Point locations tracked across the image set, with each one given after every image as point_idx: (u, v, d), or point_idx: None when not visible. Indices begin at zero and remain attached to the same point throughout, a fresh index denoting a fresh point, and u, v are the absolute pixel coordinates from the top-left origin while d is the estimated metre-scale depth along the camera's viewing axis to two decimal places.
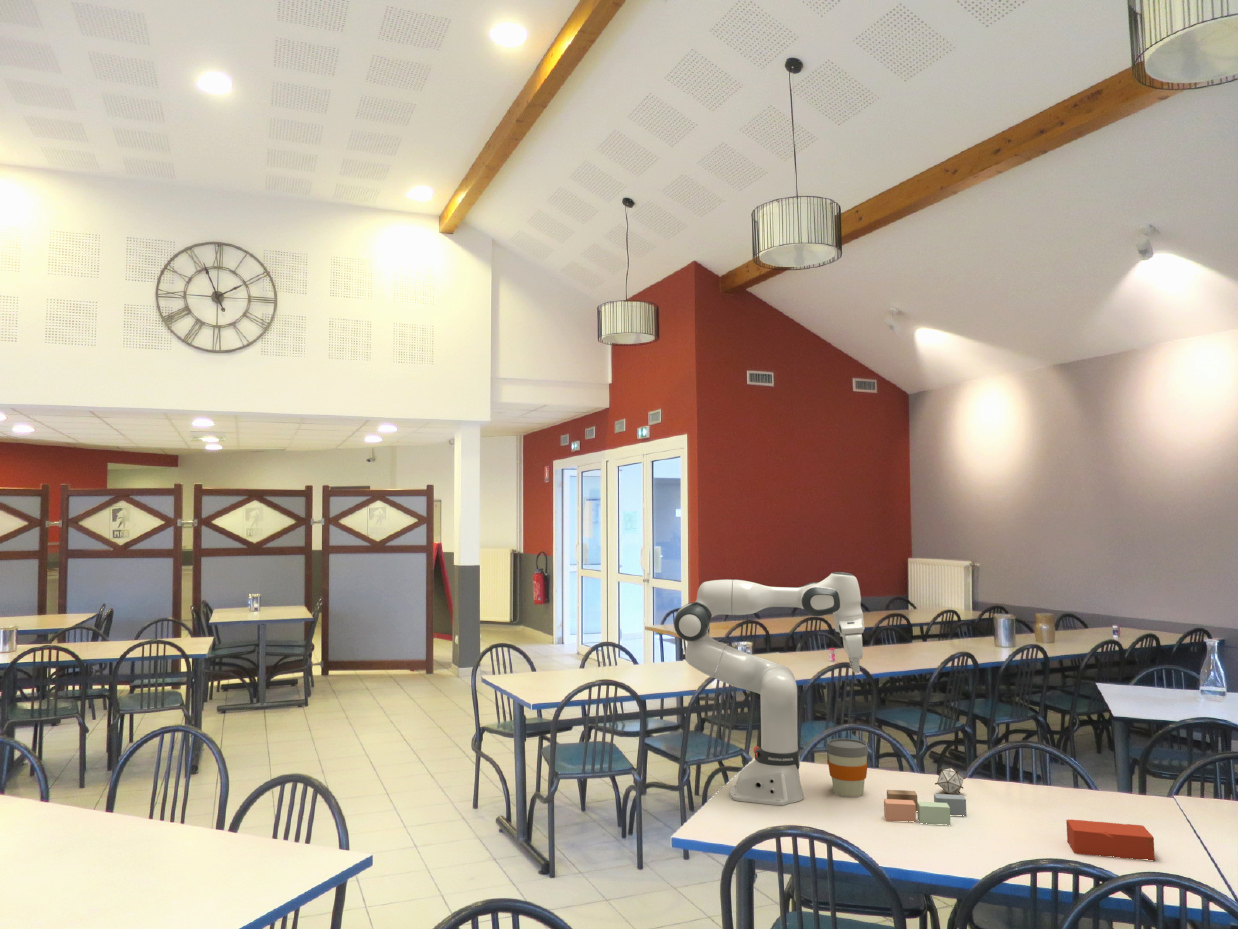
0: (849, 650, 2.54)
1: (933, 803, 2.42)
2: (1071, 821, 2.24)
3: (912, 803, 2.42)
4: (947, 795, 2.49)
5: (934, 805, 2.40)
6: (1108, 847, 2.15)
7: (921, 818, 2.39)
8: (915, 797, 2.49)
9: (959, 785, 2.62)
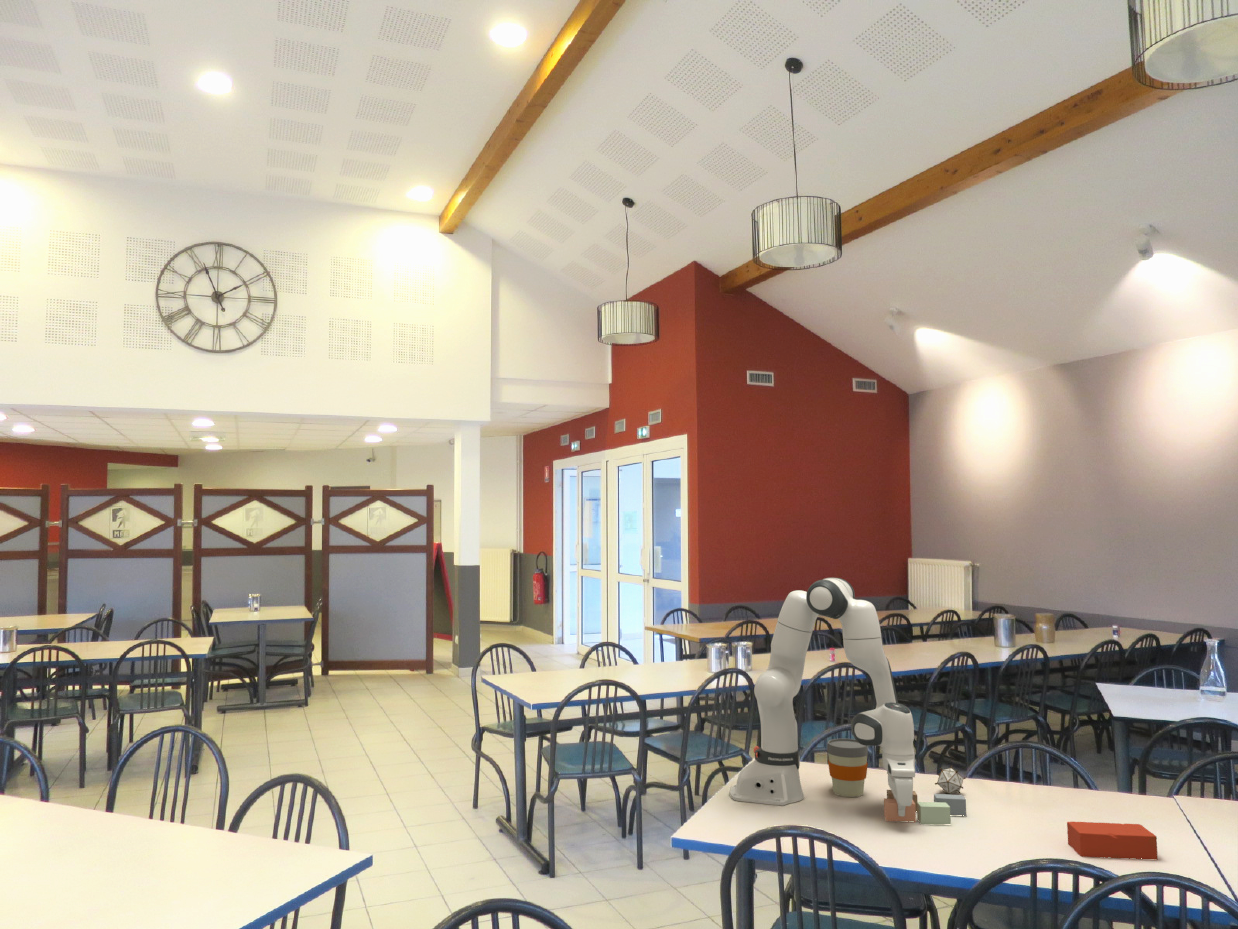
0: (898, 795, 2.34)
1: (933, 803, 2.42)
2: (1073, 823, 2.23)
3: (912, 802, 2.42)
4: (946, 795, 2.49)
5: (934, 805, 2.40)
6: (1113, 848, 2.14)
7: (922, 818, 2.39)
8: (915, 797, 2.49)
9: (959, 785, 2.62)
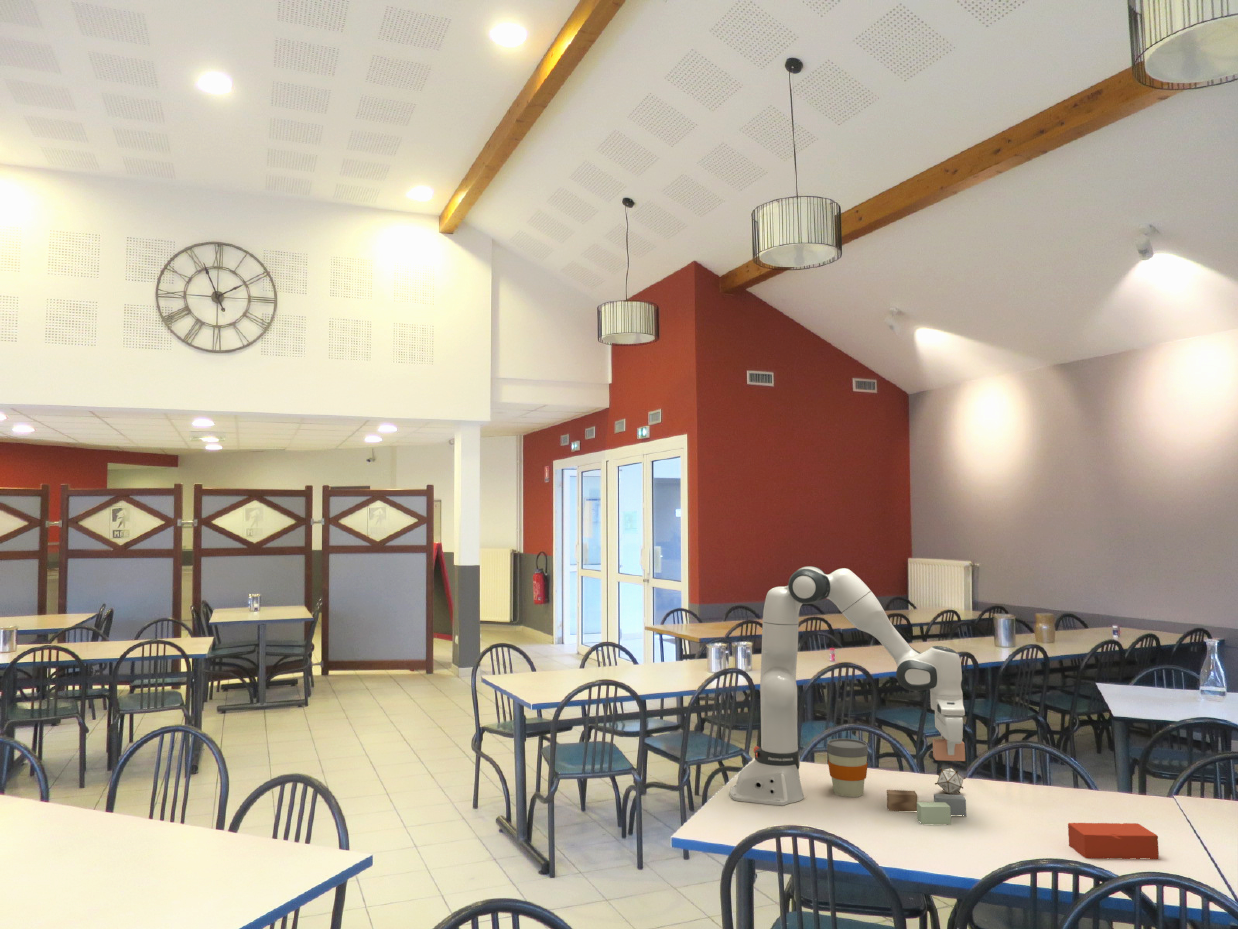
0: (948, 733, 2.40)
1: (933, 803, 2.42)
2: (1074, 825, 2.22)
3: (961, 742, 2.47)
4: (946, 795, 2.49)
5: (935, 805, 2.40)
6: (1116, 849, 2.14)
7: (922, 819, 2.39)
8: (915, 797, 2.49)
9: (959, 785, 2.62)
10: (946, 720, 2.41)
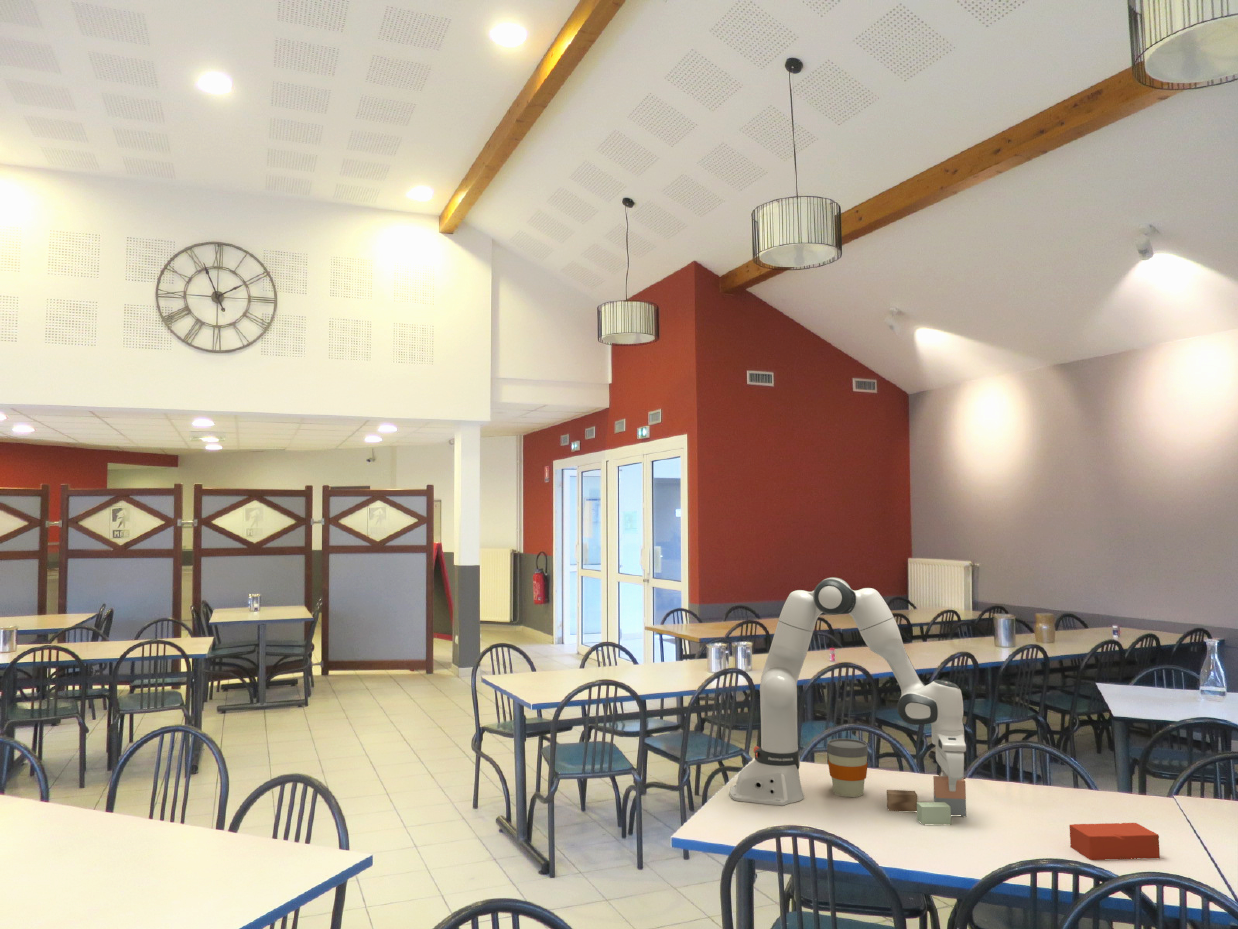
0: (949, 769, 2.39)
1: (932, 803, 2.42)
2: (1076, 826, 2.20)
3: (962, 780, 2.47)
4: None
5: (935, 805, 2.40)
6: (1120, 850, 2.14)
7: (923, 819, 2.39)
8: (915, 797, 2.49)
9: None
10: (947, 756, 2.40)
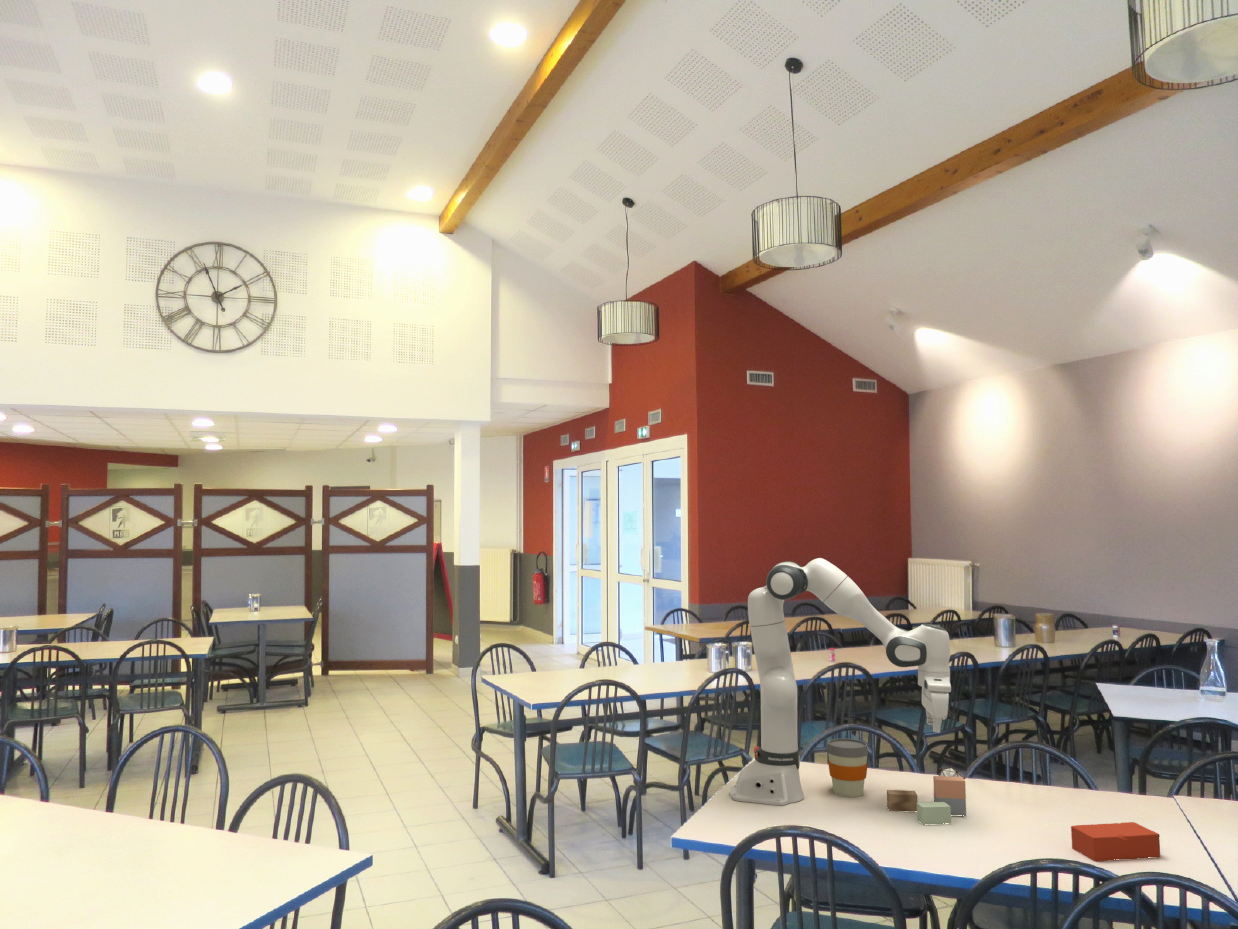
0: (934, 709, 2.42)
1: (932, 803, 2.42)
2: (1078, 827, 2.20)
3: (962, 780, 2.47)
4: None
5: (935, 805, 2.40)
6: (1122, 850, 2.13)
7: (923, 819, 2.38)
8: (915, 797, 2.49)
9: None
10: (932, 696, 2.43)
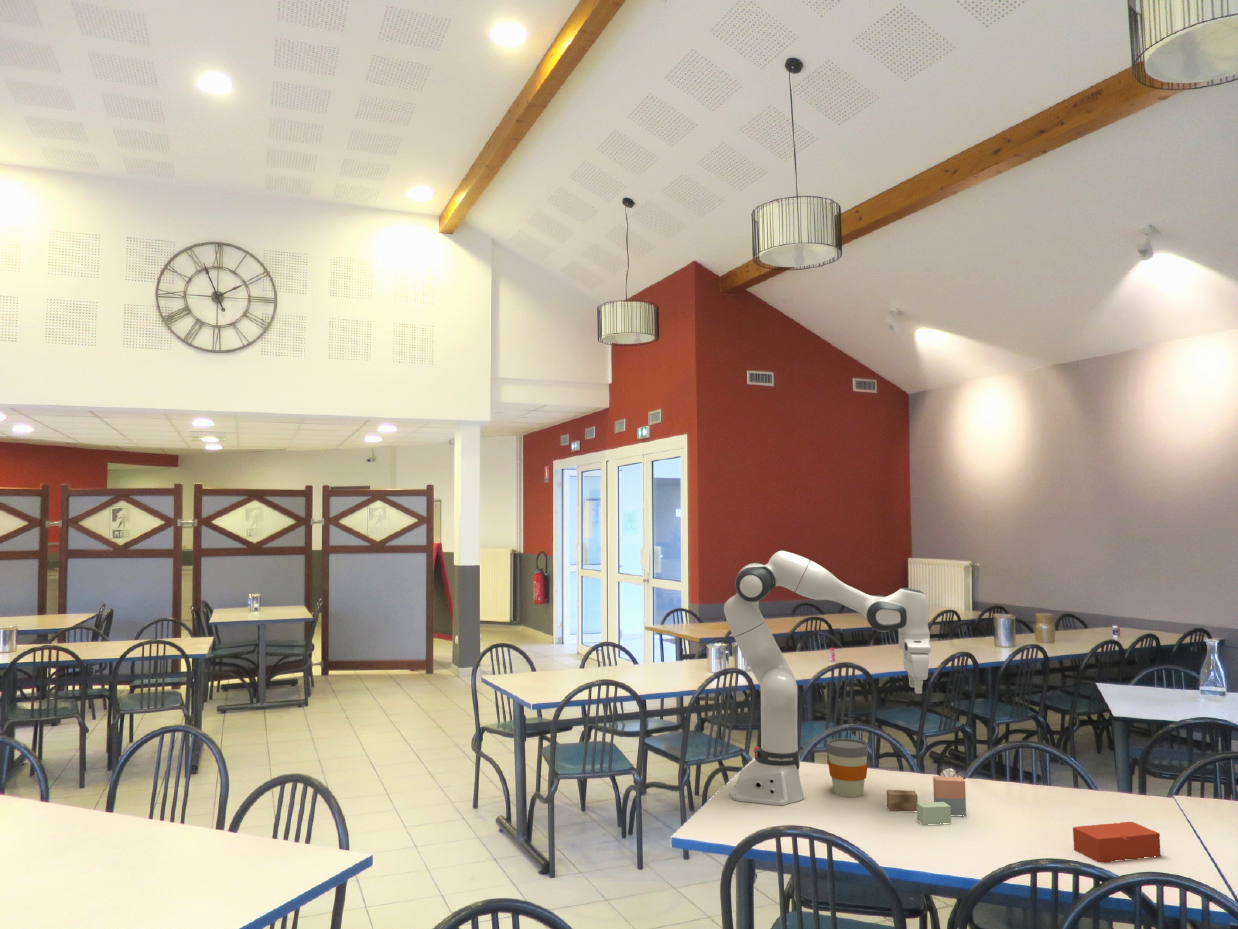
0: (914, 669, 2.46)
1: (932, 803, 2.42)
2: (1081, 829, 2.19)
3: (961, 780, 2.47)
4: None
5: (935, 805, 2.40)
6: (1125, 850, 2.13)
7: (924, 819, 2.38)
8: (915, 797, 2.49)
9: None
10: (912, 657, 2.47)
